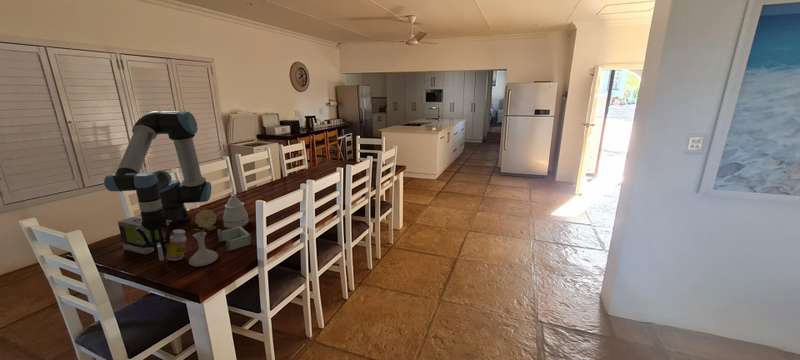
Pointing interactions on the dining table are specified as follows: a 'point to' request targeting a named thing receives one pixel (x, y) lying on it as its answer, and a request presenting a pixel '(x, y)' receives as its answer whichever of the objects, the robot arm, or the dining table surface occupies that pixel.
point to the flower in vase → (203, 254)
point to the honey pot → (235, 213)
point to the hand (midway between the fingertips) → (161, 259)
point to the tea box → (136, 235)
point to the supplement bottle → (176, 245)
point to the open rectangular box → (232, 233)
